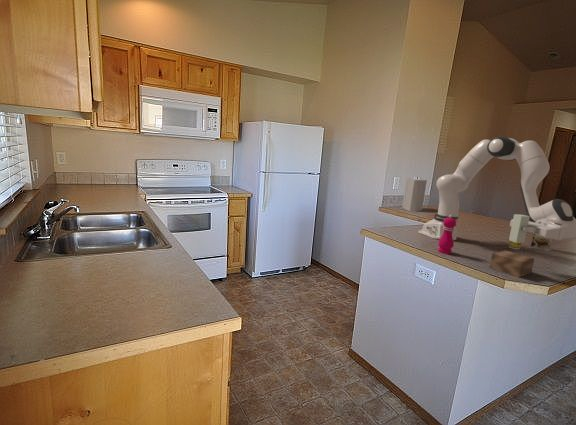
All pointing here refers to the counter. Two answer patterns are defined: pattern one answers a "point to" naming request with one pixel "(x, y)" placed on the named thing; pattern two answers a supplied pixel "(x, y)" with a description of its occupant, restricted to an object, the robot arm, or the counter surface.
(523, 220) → the sage block
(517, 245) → the supplement bottle
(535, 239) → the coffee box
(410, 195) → the paper bag
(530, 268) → the walnut riser block
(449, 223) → the pepper mill
